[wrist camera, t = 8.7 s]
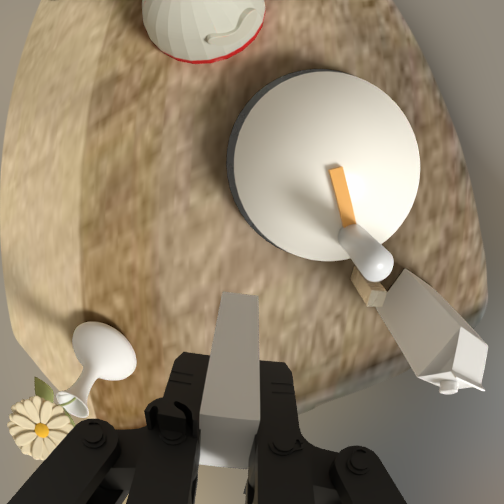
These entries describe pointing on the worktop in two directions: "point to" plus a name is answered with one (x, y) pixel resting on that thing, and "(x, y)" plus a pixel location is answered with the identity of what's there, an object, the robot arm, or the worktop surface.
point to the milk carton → (433, 335)
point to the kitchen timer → (202, 27)
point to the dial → (328, 169)
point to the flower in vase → (70, 390)
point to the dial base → (367, 289)
